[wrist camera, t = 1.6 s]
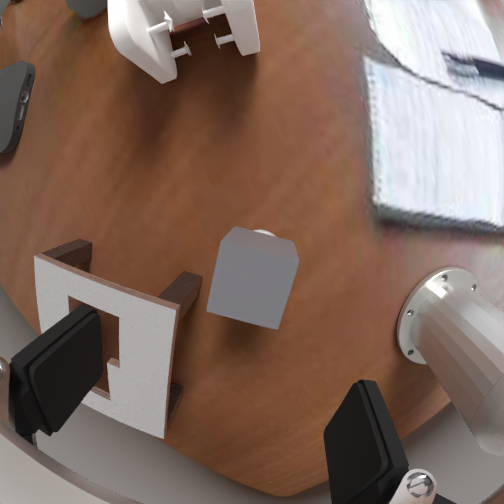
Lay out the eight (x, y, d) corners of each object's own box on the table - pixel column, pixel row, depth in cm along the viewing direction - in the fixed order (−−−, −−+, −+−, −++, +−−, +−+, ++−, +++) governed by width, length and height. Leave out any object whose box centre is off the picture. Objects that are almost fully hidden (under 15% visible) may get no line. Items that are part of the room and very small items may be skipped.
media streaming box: (-2, 78, 24) (-13, 76, 21) (42, 59, 23) (30, 54, 20) (-18, 156, 27) (-30, 157, 25) (21, 152, 27) (6, 152, 24)
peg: (291, 233, 26) (299, 261, 17) (277, 281, 28) (277, 329, 18) (240, 220, 26) (221, 241, 17) (228, 269, 28) (206, 311, 18)
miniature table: (202, 276, 28) (176, 310, 20) (182, 396, 33) (163, 439, 25) (79, 238, 28) (34, 255, 21) (83, 355, 33) (53, 385, 25)
